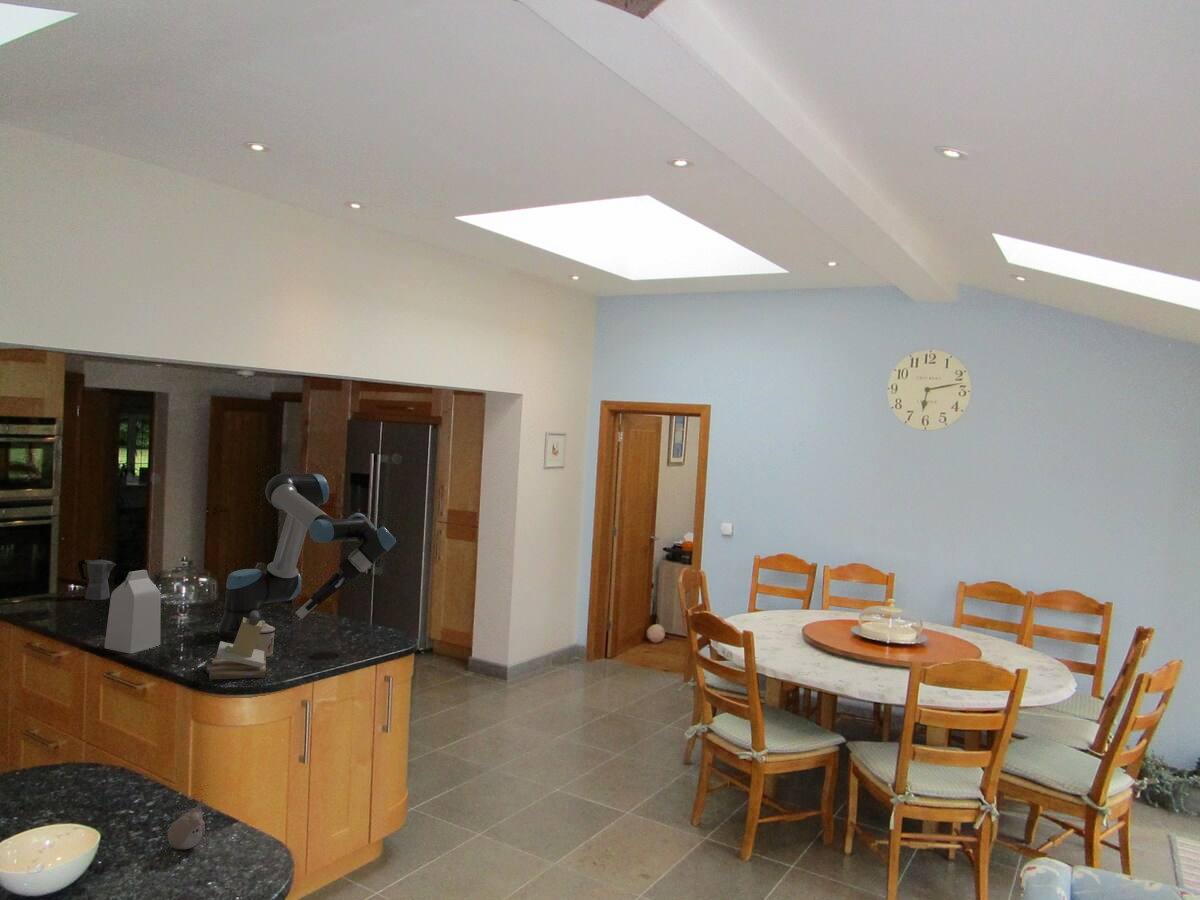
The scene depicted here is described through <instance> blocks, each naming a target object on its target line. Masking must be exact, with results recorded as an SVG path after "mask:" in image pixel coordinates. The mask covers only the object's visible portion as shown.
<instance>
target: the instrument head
mask: <svg viewBox="0 0 1200 900" xmlns="http://www.w3.org/2000/svg"><path fill="white" fill-rule="evenodd" d="M259 617H260V613H259V610H258V611H256V610H254V611H252V612H251V613H250V619H249V618H245V617H243V620H242V623H241V625H240V628H239V631H238V634H237V636H236V638H234V639H235V640H234V641H233V643H232V642H231V643H229V642H225V641H222V640H221V641H220V642H219V644H218V648H217V652H216V656H215V658H220V659H224V660H229V661H233V662H238V663H242V664H247V665H252V666H256V667H261V668H262V667H263V665H264V651H261V650H257V649H254V648H255V645H256V643H257V640H258V637H259V634H260V632H261V629H262V622H261V621H262V620H260V621H259Z"/></svg>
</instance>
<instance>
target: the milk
mask: <svg viewBox="0 0 1200 900" xmlns="http://www.w3.org/2000/svg"><path fill="white" fill-rule="evenodd" d="M161 599H162V598H161V591H160V589H159V588H158V587H157V586H156V584H154V581H152V580H151V578H150V577H149V573H148V570H147V569H140V570H134V571H129V572H128V573H127V575H126V577H125V580H124V581H123V582H122V583H121V584H120V585H118V586H117V587H116V588H115V589H114V590H113V591H112V592H111V595H110V602H109V609H108V617H107V624H106V625H107V626H106V633H105V641H104V649H108V650H111V651H116V652H121V653H125V654H135V653H139V652H141V651H142V652H143V651H146V650H149V648H150V649H153V647H154V648H157V647H156V646H158V647H160V646H161V618H162V617H161V608H162V607H161V602H162V601H161ZM159 645H160V646H159Z"/></svg>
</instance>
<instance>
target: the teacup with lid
mask: <svg viewBox="0 0 1200 900" xmlns="http://www.w3.org/2000/svg"><path fill="white" fill-rule="evenodd" d="M260 621H261V622H262V629H261V632H260V634H259V637H258V640H257V643H256V645H255V648H254V649H257V650H261V651H264V657H266V658H268V657H272V656H273V654H274V644H275V642H274V641H275V632H276V628H275V627H274V626H273V625H269V624H268V623H266V621H265V620H260Z"/></svg>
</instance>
